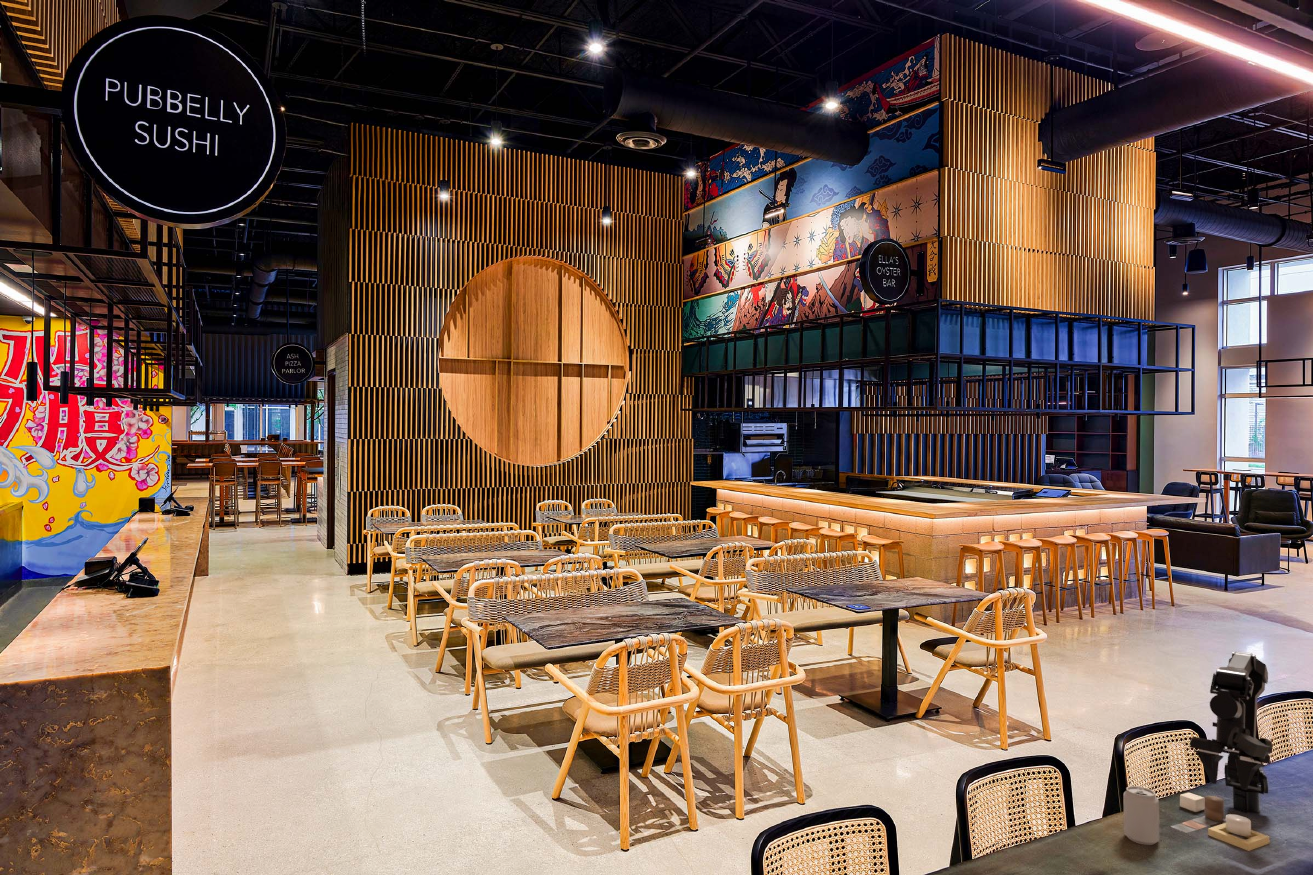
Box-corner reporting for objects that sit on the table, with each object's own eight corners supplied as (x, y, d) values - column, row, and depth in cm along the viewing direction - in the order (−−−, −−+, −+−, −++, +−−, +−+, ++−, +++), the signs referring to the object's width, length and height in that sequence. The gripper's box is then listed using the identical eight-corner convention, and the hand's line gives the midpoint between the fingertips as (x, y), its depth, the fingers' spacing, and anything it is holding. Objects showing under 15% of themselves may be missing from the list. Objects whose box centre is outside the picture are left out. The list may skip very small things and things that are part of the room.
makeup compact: (1205, 814, 212) (1205, 811, 212) (1234, 825, 206) (1233, 821, 206) (1163, 827, 204) (1163, 824, 204) (1192, 839, 198) (1192, 835, 198)
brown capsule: (1210, 813, 211) (1210, 794, 211) (1227, 819, 207) (1226, 800, 207) (1201, 816, 209) (1201, 797, 209) (1218, 822, 205) (1217, 802, 206)
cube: (1189, 807, 217) (1188, 792, 217) (1204, 812, 214) (1204, 797, 214) (1180, 809, 216) (1179, 794, 216) (1195, 815, 212) (1195, 800, 212)
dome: (1233, 824, 200) (1232, 812, 200) (1255, 833, 195) (1255, 820, 195) (1221, 828, 198) (1221, 816, 198) (1243, 837, 193) (1243, 824, 193)
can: (1124, 841, 196) (1124, 792, 197) (1123, 829, 203) (1122, 781, 203) (1160, 848, 193) (1159, 798, 193) (1158, 836, 199) (1157, 787, 200)
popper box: (1229, 831, 202) (1229, 821, 202) (1269, 846, 194) (1269, 836, 194) (1208, 838, 198) (1208, 828, 198) (1248, 854, 190) (1248, 843, 190)
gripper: (1230, 719, 192) (1228, 787, 188) (1292, 733, 195) (1291, 800, 192) (1189, 712, 203) (1186, 777, 199) (1249, 725, 206) (1247, 789, 202)
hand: (1228, 786), depth 198 cm, fingers open, 9 cm apart
